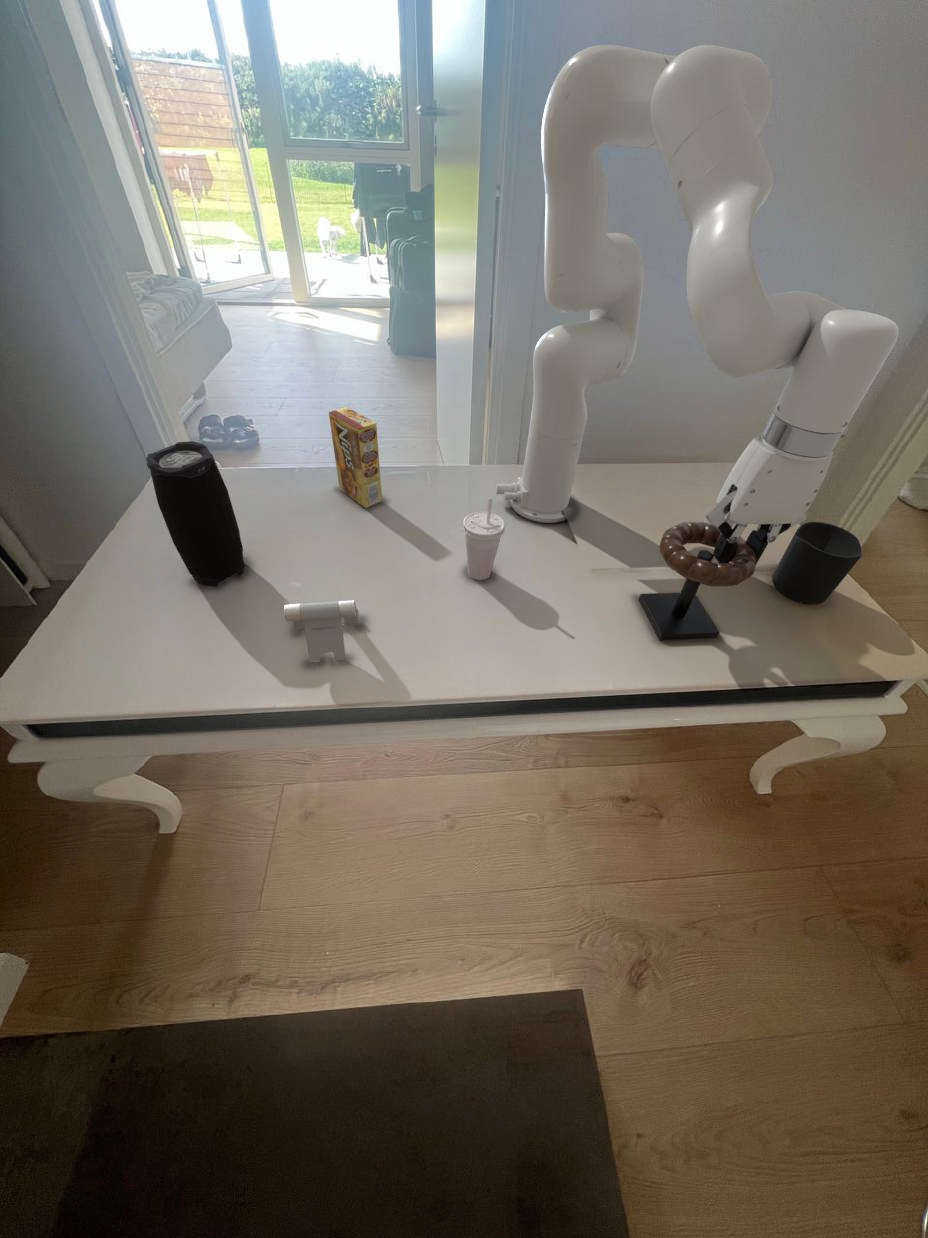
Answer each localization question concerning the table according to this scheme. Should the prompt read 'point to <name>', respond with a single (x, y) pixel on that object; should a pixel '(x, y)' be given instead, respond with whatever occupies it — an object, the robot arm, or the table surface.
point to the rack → (680, 611)
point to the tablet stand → (323, 625)
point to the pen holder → (816, 562)
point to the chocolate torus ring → (701, 569)
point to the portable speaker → (197, 511)
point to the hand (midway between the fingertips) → (733, 559)
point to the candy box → (356, 456)
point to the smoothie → (482, 541)
